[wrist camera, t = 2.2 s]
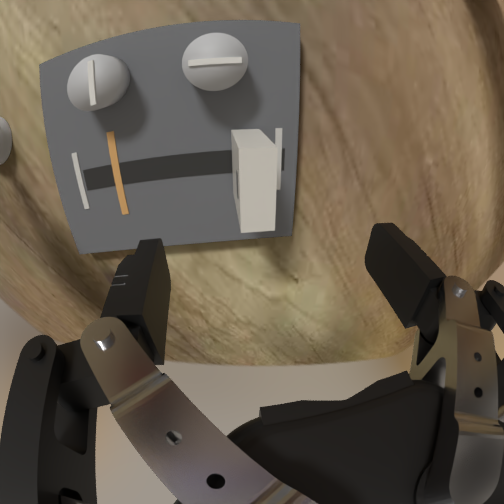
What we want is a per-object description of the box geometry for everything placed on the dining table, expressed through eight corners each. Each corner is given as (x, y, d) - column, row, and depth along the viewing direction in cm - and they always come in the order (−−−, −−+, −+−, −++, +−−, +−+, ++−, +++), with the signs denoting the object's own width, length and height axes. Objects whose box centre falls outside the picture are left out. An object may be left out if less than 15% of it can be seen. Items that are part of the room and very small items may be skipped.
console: (294, 27, 15) (311, 16, 12) (287, 227, 25) (299, 252, 22) (48, 64, 13) (21, 65, 10) (84, 245, 23) (70, 270, 20)
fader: (259, 128, 18) (278, 147, 13) (259, 191, 21) (275, 230, 16) (230, 129, 18) (237, 148, 13) (232, 193, 21) (240, 233, 16)
